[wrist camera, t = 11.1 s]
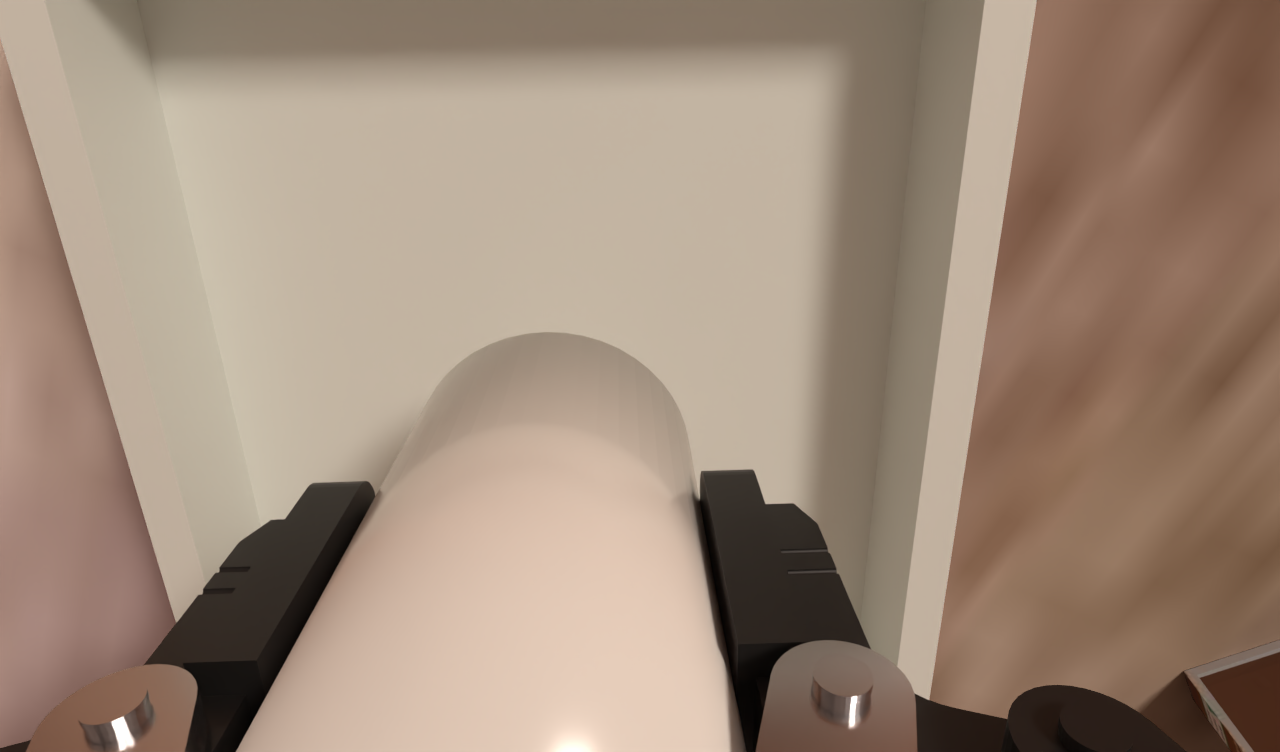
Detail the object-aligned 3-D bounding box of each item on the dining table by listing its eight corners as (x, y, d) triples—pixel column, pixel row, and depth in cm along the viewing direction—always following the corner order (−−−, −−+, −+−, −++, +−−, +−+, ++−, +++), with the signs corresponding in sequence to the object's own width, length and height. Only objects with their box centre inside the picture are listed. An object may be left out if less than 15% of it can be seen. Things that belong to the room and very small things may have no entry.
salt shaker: (433, 579, 14) (86, 1565, 5) (397, 335, 12) (-241, 1157, 3) (689, 570, 14) (822, 1525, 5) (690, 327, 13) (899, 1104, 3)
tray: (285, 674, 21) (225, 788, 18) (99, -92, 14) (-52, -134, 11) (872, 652, 21) (919, 760, 18) (960, -108, 15) (1060, -153, 11)
